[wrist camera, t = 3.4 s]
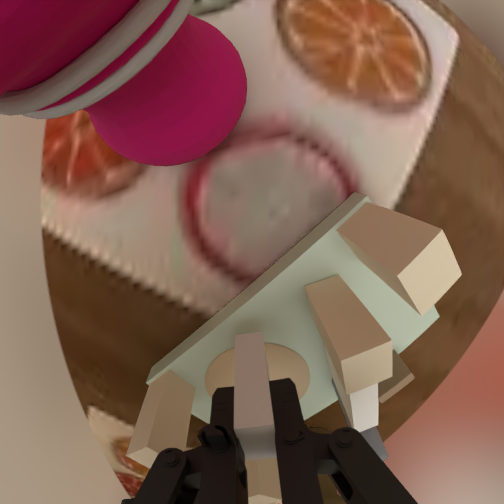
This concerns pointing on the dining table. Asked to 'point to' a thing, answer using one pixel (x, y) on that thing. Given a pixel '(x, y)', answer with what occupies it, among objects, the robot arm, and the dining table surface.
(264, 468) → the stand
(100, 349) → the dining table surface
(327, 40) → the dining table surface
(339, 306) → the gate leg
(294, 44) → the dining table surface
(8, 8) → the pepper mill
